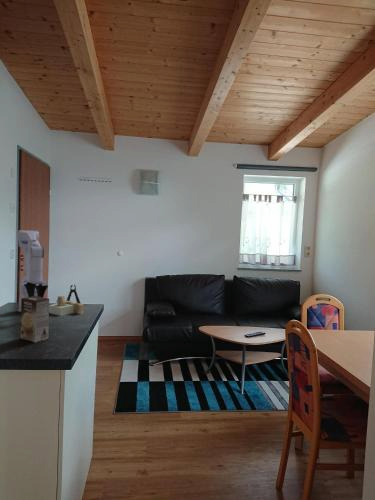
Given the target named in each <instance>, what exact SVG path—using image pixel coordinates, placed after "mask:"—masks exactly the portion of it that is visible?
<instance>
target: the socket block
mask: <svg viewBox="0 0 375 500" xmlns="http://www.w3.org/2000/svg"><path fill="white" fill-rule="evenodd" d="M49 314H52V315H55V316H60V317H61V316H66V315H70V314H71V315H72V314H75V313H74V305H70V304H65V306H62V307H59V306H58V304H57V303H54V304H49Z"/></svg>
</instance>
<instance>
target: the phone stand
mask: <svg viewBox="0 0 375 500" xmlns="http://www.w3.org/2000/svg"><path fill="white" fill-rule="evenodd" d="M72 287H74V288H72ZM72 294H74V296H75V302H76V303H80V304H82V303H81V301H80V298H79V295H78V292H77V286H76V284H74V285H73V284H71V285H70V289H69V293H68V295H67V297H66V299H65V300H66V301H70V300H71V297H72ZM70 302H71V301H70Z"/></svg>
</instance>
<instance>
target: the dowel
mask: <svg viewBox="0 0 375 500" xmlns="http://www.w3.org/2000/svg"><path fill="white" fill-rule="evenodd" d="M57 300H58V306H59V307H62V306H65V300H66V296H65V295H60V296H57Z"/></svg>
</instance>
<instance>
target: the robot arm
mask: <svg viewBox="0 0 375 500" xmlns="http://www.w3.org/2000/svg"><path fill="white" fill-rule="evenodd" d="M17 239H18V240H17V242H18V247H19V248H21V249H22V251H23V260H24V261H23V262H24V274H25V275H24V277H22V278H21V279H20V281H19V293H20V294H21V295H20V297H19V301H18V303H19V307H18V309H17V312H20V313H21V298H26V297H32V296H38V297H43V298H45V293H46V291H47V289H48V288H49V285H48V282H47V281H46V280H44V279H43V270H44V269H43V264H44V263H43V259H44V257H45V247H44V245H41V244H40V232H39V230H25V229H23V230H22V229H19V230H18V231H17Z"/></svg>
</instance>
